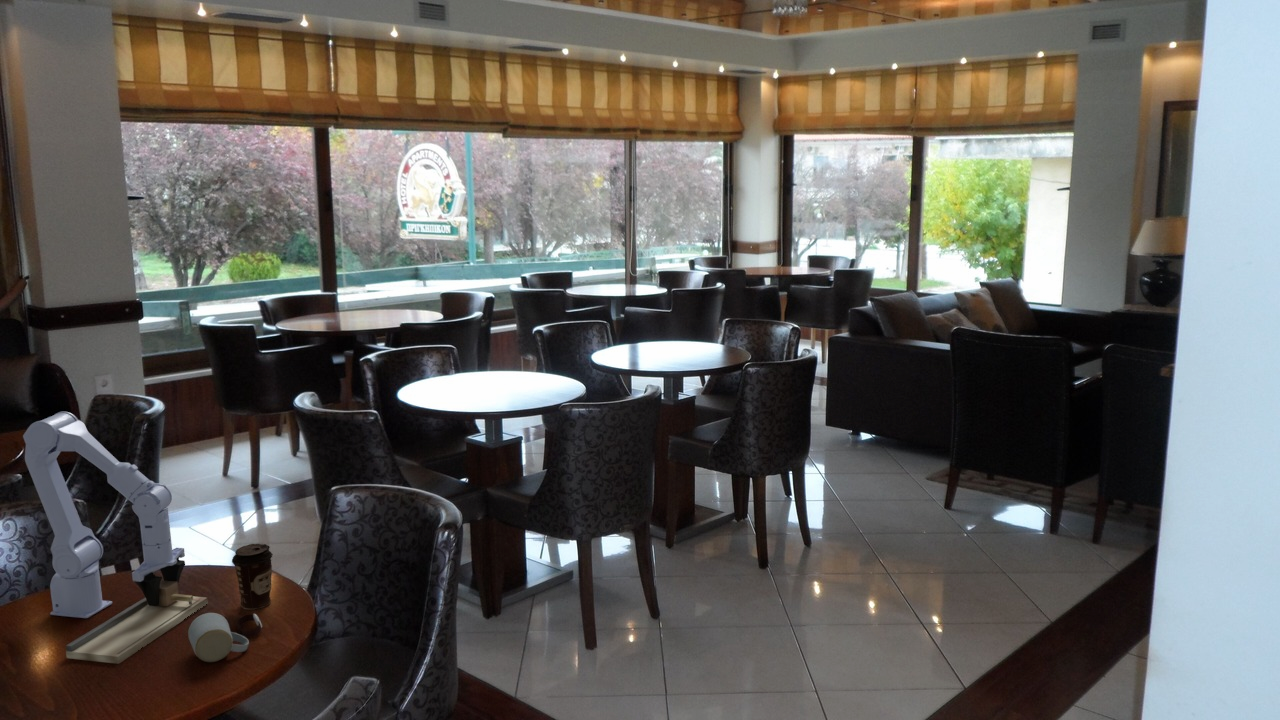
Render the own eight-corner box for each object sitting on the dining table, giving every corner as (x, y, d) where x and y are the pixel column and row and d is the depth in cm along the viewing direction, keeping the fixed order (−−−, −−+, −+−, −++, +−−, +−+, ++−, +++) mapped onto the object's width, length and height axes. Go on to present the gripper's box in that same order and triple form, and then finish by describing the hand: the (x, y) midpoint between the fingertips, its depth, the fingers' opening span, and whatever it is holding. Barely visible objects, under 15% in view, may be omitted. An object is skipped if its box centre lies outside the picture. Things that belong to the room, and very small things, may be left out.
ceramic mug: (196, 669, 196) (193, 632, 194) (189, 652, 202) (186, 616, 201) (253, 655, 201) (250, 619, 200) (244, 639, 208) (242, 604, 207)
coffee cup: (284, 596, 228) (279, 542, 225) (267, 612, 220) (262, 556, 217) (247, 595, 229) (242, 541, 226) (229, 611, 221) (223, 555, 218)
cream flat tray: (66, 658, 200) (65, 645, 200) (160, 599, 227) (159, 588, 227) (118, 663, 198) (117, 651, 197) (207, 603, 225) (206, 592, 224)
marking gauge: (147, 604, 220) (145, 587, 219) (159, 596, 224) (157, 580, 223) (186, 608, 218) (184, 590, 217) (197, 600, 222) (196, 583, 221)
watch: (267, 634, 210) (265, 618, 209) (244, 641, 207) (242, 624, 207) (255, 622, 216) (254, 606, 215) (233, 628, 213) (231, 612, 213)
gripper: (150, 554, 211) (156, 615, 214) (194, 530, 225) (199, 587, 228) (120, 552, 213) (127, 612, 215) (166, 528, 227) (172, 585, 229)
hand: (162, 599), depth 222 cm, fingers open, 5 cm apart
